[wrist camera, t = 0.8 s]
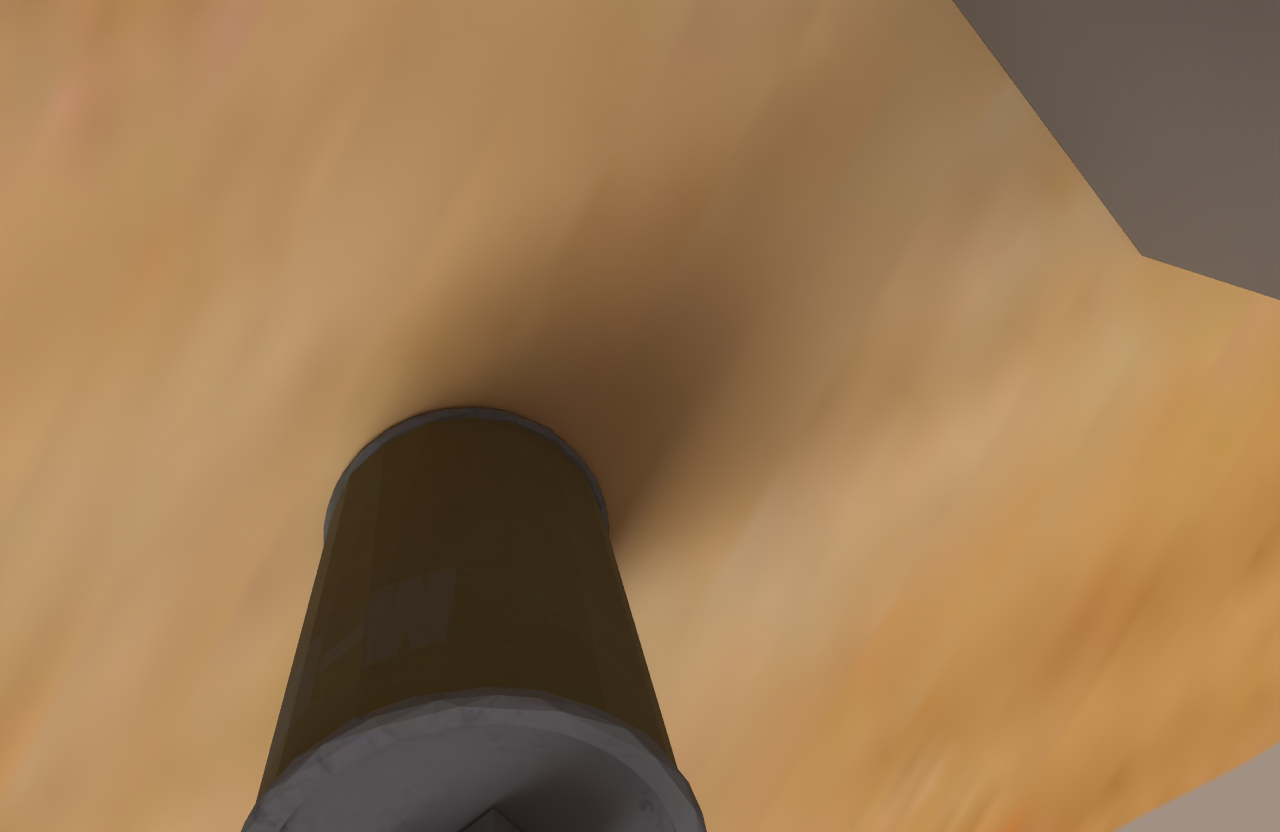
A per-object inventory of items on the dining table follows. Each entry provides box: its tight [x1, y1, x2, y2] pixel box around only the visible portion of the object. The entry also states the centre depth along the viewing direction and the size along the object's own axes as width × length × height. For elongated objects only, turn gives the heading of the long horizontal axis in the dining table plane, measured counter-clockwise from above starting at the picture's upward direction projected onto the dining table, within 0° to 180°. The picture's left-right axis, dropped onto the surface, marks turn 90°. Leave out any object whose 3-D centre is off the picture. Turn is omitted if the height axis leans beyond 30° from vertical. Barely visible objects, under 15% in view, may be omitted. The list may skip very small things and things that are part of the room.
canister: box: [241, 407, 707, 832], centre depth 29 cm, size 11×10×20 cm
